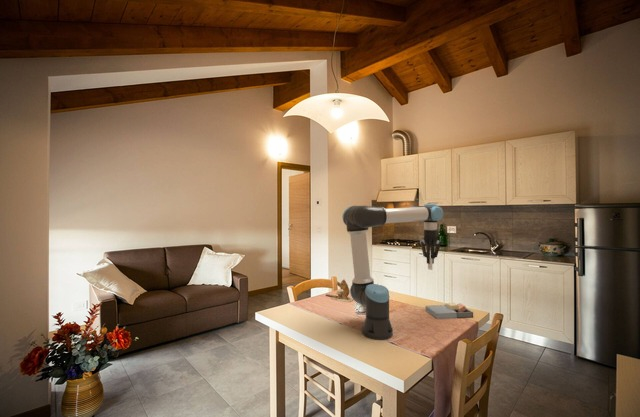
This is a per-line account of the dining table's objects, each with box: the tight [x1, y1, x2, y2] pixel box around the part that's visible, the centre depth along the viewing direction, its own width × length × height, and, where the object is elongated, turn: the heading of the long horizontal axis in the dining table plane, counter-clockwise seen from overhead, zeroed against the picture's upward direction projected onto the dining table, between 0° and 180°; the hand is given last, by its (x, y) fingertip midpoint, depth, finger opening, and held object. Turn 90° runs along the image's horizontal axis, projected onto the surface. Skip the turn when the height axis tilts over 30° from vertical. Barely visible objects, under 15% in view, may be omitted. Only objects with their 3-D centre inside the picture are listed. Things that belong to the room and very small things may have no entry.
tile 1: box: [445, 302, 459, 310], centre depth 179 cm, size 5×5×2 cm
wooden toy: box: [325, 279, 355, 303], centre depth 212 cm, size 22×10×14 cm, turn 53°
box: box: [444, 303, 474, 319], centre depth 179 cm, size 15×10×3 cm, turn 6°
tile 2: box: [455, 302, 467, 312], centre depth 180 cm, size 5×5×2 cm
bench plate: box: [425, 304, 458, 320], centre depth 178 cm, size 14×12×3 cm
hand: (430, 269), depth 179 cm, fingers closed
